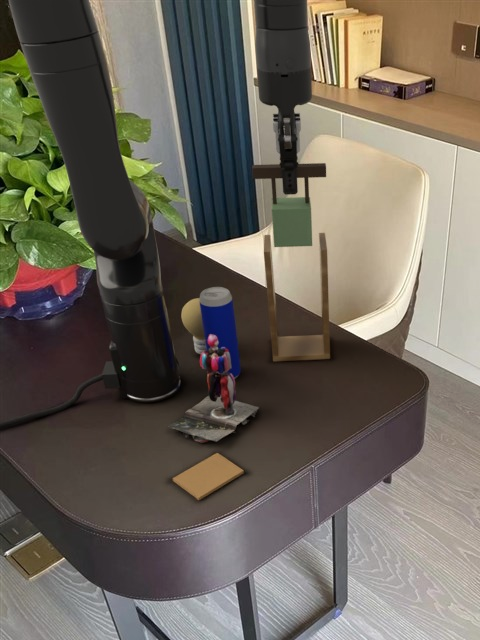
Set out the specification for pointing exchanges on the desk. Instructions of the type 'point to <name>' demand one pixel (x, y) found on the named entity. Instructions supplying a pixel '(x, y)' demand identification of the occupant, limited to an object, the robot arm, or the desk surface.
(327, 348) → the wooden frame
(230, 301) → the beverage can
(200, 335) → the light bulb
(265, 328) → the desk surface
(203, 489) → the mat
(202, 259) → the desk surface
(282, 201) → the green block with crossbars
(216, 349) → the statue
